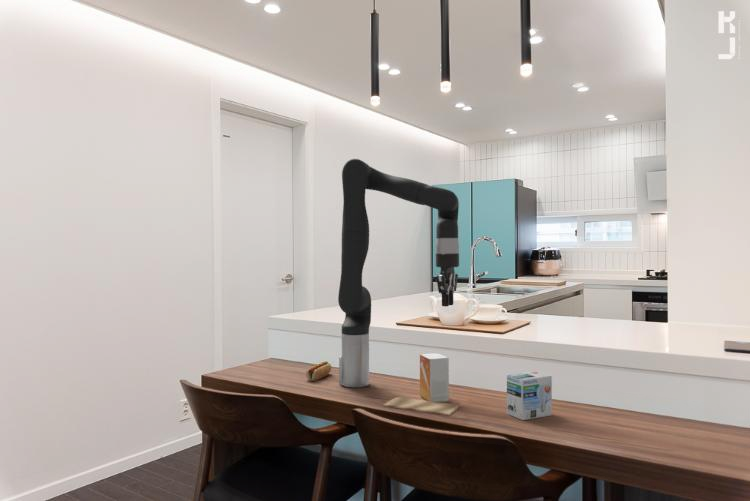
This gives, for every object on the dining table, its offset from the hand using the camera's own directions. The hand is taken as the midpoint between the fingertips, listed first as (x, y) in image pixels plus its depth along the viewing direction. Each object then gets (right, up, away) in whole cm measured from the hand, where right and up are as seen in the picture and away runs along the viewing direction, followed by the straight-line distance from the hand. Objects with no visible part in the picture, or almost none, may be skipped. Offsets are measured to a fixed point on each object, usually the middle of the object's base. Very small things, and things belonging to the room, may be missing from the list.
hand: (447, 305), depth 172 cm
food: (-44, -28, +18) cm, 55 cm away
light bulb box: (+19, -27, -27) cm, 43 cm away
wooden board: (-10, -27, -19) cm, 35 cm away
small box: (-6, -27, -11) cm, 30 cm away
